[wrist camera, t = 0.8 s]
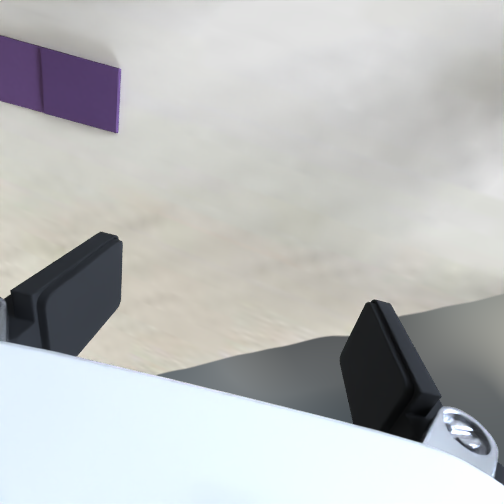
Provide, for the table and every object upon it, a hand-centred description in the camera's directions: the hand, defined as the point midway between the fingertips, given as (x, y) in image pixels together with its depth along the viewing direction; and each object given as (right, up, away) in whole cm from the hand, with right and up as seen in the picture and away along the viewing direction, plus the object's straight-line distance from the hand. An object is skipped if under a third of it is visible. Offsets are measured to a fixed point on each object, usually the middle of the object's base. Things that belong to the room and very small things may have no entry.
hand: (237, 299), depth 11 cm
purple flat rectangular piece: (-24, +22, +24) cm, 41 cm away
